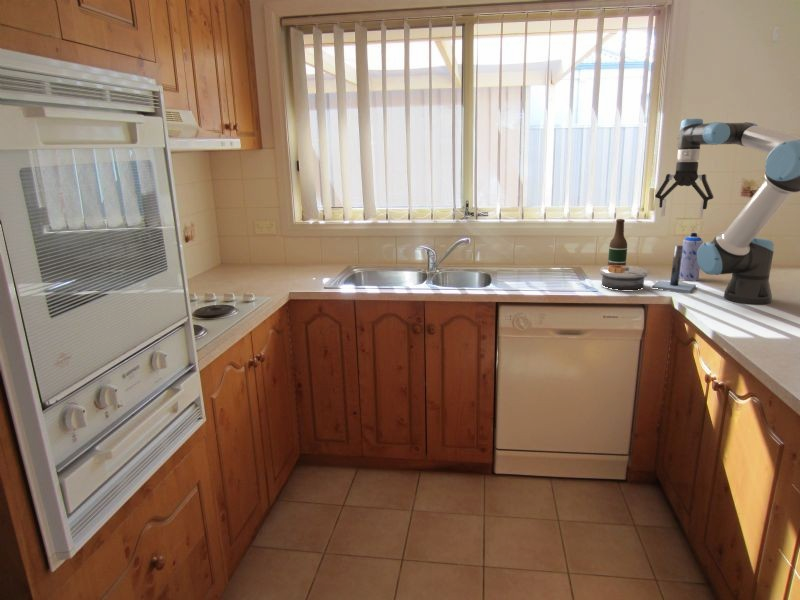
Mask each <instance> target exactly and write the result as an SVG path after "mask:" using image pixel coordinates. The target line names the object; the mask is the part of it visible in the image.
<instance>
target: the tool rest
mask: <svg viewBox="0 0 800 600" xmlns="http://www.w3.org/2000/svg"><path fill="white" fill-rule="evenodd" d="M696 285H697V284H695V283H686V282H685V283H684V282H679V283H678V286H673V285H670V281H667V280H657V281H656V282H655V283H654V284H652V285H651V289H652V288H658V289H663V290H662V291H665V290H670V291H669V292H674V291H676V293H684V294H691V293H692V292H693V291H694V288H696Z"/></svg>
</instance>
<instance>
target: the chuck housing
mask: <svg viewBox="0 0 800 600" xmlns="http://www.w3.org/2000/svg"><path fill="white" fill-rule="evenodd" d="M601 276H602V277H601V286H602V285H603V286H605V287H608V288H612V289H618V290H638V289H641V288H643V289H644V287H645V284H644V283H645V278H640V279H619V278H611V277H606V276H603V275H601Z"/></svg>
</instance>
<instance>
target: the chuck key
mask: <svg viewBox="0 0 800 600" xmlns="http://www.w3.org/2000/svg"><path fill="white" fill-rule="evenodd" d="M673 249H674V250H673V259H672V266H671V274H670V280H669V282H670V285H673V286H678V283H680V279H679V276H680V267H681V259H682V251H683V245H682V244H681V245H679V244H678V245H677V244H676V245H674V248H673Z"/></svg>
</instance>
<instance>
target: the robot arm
mask: <svg viewBox="0 0 800 600" xmlns="http://www.w3.org/2000/svg"><path fill="white" fill-rule="evenodd" d="M678 132H679V135H678V136H679V138H678V144H677V145H678V146H677V147H678V148H677V156H676V160H677V161H676V163H675V172H674V174H671V173H667V174H666V176H665V179H664V181H663V183H662V184H661V186H660V187H659V189H658V191H657V193H656V194H655V198H657V199H659V208H661V214H660V217H664V216H665V215H666V214H665V213H666V207H667V206H666V203H667V196H668V195H669V194H670V193H671V192H672V191H674V190H675V188H676V187H678V186H680V187H683V186H685V187H690V186H692V188H694V190H695V192H697V194H698V195H699V196H700V198H702V200H701V201H700V207H699V218H698V219H702V218H703V216H704V210H707V208H708V201H709V200H713V199H714V194H713V192H712V190H711V188H710V187H711V186H710V185H709V182H708V181H707V174H705V173H704V174H699V173H698V169H699V162H698V160H699V159H700V151H701V146H703V145H710V146H714V145H715V146H717V145H738V146H742V147H744V148H749V149H753V150H755V151H758V152H762V153H766V154H768V155H767V157H766V159H765V163H766V164H765V165H764V170H765V172H764V181H763V182H762V184H761V185H760V186H759V187H758V189H757V190H756V191H755V192H754V194H753V195H752V196H751V198H750V199H749V201H748V202H747V203H746V204H745V206H743V208H742V209H741V210H740V212H739V213H738V214H737V216H736V218H734V219H733V221H732V223H731V224H730V225H729V226H728V227H727V229H726V230H724V231H720V232H718V233H717V234H716V236H715V237H714V238H713V239H712V241H706V242H703V244H702V245H701V246H700V247H699V249H698V251H697V261H698V265H699V267H700V271H702V272H703V273H705V274H706V275H713V276H719V275H728V274H731V278H730V280H729V282H728V283H727V286H726V287H725V290H724V294H723V298H724V299H726V300H728V301H731V302H735V303H741V304H747V305H749V304H750V305H766V304H771V303H772V300H773V293H772V289H771V285H770V275H771V274H770V273H771V269H772V263H773V256H774V252H775V251H774V249H775V247H774V246H775V244H774V241H773V240H771V239H769V238H768V239H767V238H761V237H757V236H758V235H759V234H760V232H761V231H762V230H763V229H764V228H765V226H766V225H767V224H768V223H769V222H770V220H771V219H773V217H774V216H775V214H776V213H777V212H778V210H779V209H780V208H781V207H782V206H783V205H784V204H785V202H786V201H787V200H788V199H789V198H790V197H791V195H792V194H795V193H800V135H799V136H798V135H793V134H791V133H786V132H783V131H782V132H781V131H779V130H774V129H770V128H765V127H761V126H759V125H758V124H757V123H755V122H748V121H746V122H720V121H719V122H718V121H716V122H715V121H714V122H709V123H708V122H707V123H704V119H702V118H685V119H683V120H682V121H681V122H680V128H679V131H678ZM673 179H674V180H675V182H674V183H673V184H672V185H671V186H670V187H669V188H667V190H666V191H665V192H664V190H665V188H666V187H667V185H668V184H669V182H670V181H672V180H673ZM698 179H699V180H700V181H702V185H703V187H704V189H705V192H706V194H705V193H704V191H703V190H702V189H701V188H700V186H699V185H698V183H697V180H698ZM663 192H664V193H663Z"/></svg>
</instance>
